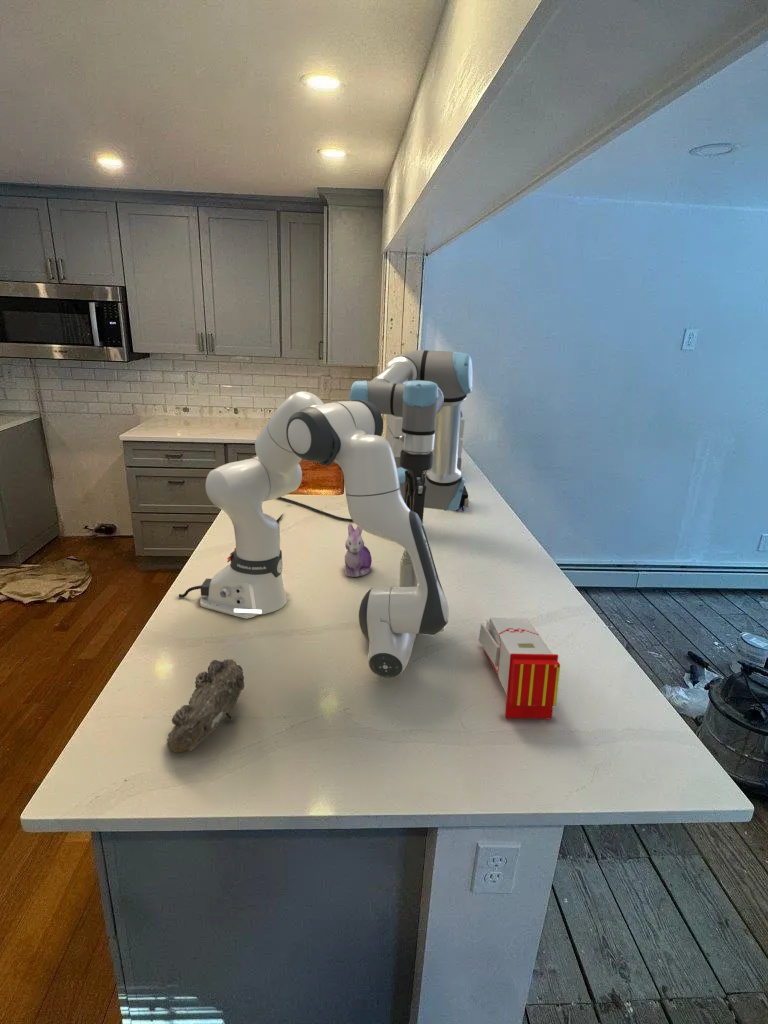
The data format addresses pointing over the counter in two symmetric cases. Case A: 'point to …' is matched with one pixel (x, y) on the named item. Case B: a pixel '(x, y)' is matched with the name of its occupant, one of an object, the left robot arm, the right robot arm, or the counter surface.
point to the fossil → (206, 705)
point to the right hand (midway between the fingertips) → (410, 545)
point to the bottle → (407, 572)
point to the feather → (279, 518)
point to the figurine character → (464, 499)
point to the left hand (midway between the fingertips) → (407, 598)
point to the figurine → (356, 554)
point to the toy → (522, 666)
